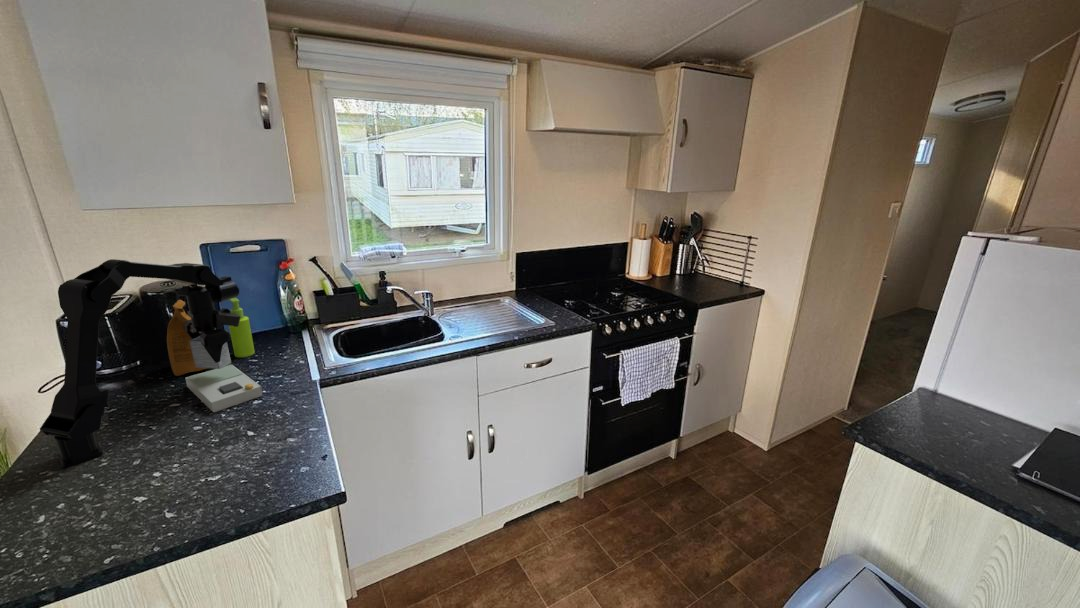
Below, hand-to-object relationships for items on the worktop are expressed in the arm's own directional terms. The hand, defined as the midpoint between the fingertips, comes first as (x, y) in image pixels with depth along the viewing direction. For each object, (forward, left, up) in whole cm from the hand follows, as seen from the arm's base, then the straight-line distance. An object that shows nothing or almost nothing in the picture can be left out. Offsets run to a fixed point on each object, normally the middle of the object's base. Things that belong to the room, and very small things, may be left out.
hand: (211, 357), depth 127 cm
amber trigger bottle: (+20, +1, -10) cm, 22 cm away
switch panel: (-5, 0, -9) cm, 10 cm away
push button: (-11, 0, -9) cm, 14 cm away
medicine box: (0, 0, -3) cm, 3 cm away
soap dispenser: (+20, -14, -10) cm, 26 cm away
